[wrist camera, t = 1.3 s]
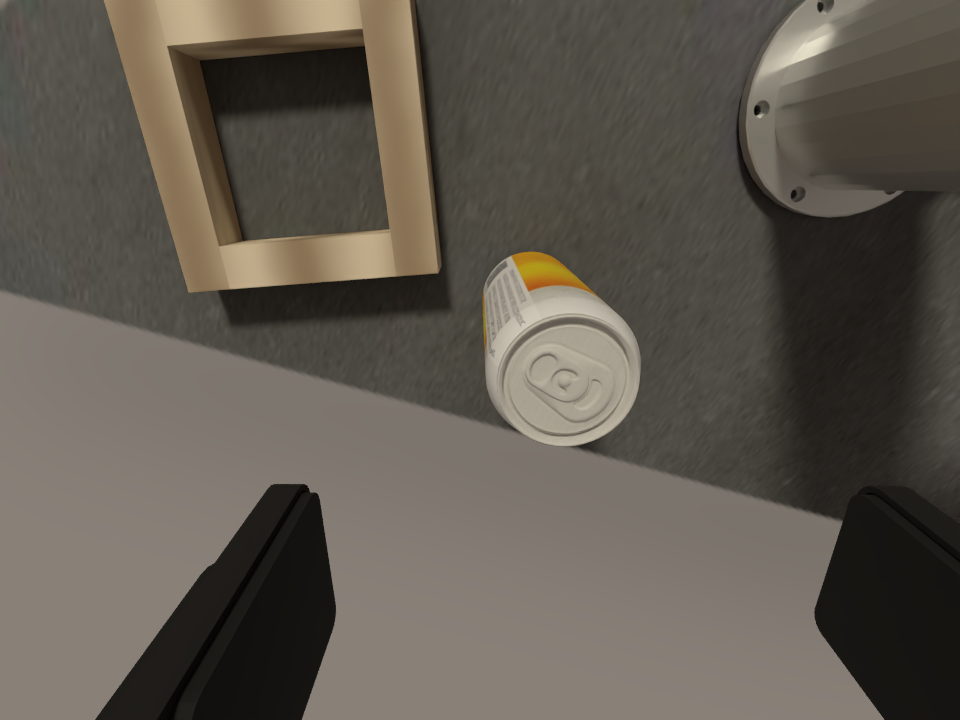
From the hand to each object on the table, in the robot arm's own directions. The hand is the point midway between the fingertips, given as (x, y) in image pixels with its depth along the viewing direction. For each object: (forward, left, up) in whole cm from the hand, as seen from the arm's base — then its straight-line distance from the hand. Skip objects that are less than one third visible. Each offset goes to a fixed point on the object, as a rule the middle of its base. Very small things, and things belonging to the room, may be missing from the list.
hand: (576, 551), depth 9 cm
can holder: (+11, -9, -24) cm, 28 cm away
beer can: (-2, +1, -25) cm, 25 cm away
